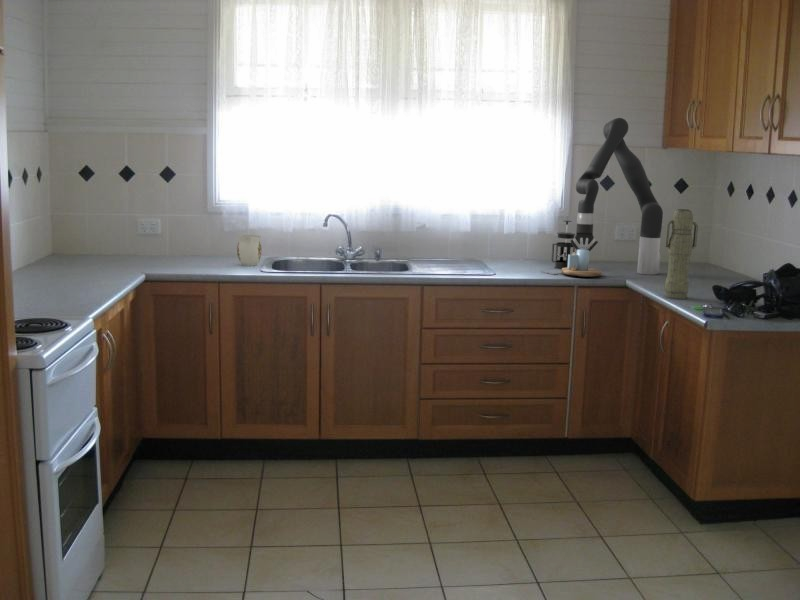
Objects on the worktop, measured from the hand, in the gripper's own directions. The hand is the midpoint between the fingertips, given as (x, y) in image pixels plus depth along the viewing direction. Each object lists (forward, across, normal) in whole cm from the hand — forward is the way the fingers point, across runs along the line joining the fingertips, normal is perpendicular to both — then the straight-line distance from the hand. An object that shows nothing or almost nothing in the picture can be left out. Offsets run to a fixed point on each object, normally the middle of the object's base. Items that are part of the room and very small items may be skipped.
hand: (583, 260), depth 404 cm
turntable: (+5, +1, +7) cm, 9 cm away
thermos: (+7, -36, +52) cm, 63 cm away
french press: (+6, +9, -14) cm, 18 cm away
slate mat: (+6, +12, +3) cm, 14 cm away
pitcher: (+5, +150, +33) cm, 154 cm away
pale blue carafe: (+4, +2, +8) cm, 9 cm away
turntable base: (+6, +1, +7) cm, 9 cm away
